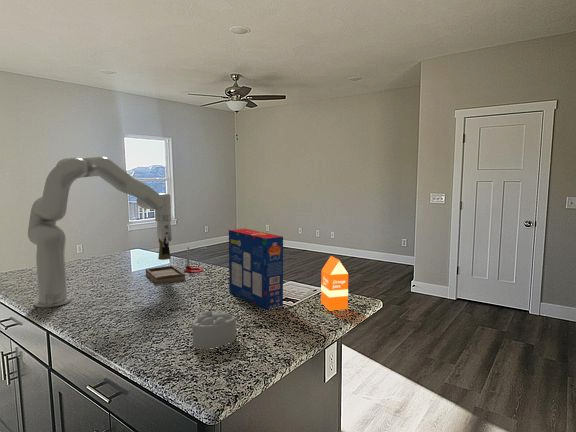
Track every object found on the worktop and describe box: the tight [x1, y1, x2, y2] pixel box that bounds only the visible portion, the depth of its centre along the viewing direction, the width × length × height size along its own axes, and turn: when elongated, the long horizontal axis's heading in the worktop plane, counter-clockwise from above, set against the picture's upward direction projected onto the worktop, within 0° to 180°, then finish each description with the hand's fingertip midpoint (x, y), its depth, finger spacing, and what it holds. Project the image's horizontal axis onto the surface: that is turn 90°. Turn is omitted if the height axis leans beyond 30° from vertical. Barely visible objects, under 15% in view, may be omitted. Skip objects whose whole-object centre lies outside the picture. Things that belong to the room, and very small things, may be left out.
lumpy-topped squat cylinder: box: [191, 309, 237, 349], centre depth 113 cm, size 10×13×9 cm
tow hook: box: [183, 247, 204, 274], centre depth 199 cm, size 8×13×9 cm
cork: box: [157, 238, 172, 261], centre depth 184 cm, size 6×6×11 cm
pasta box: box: [228, 228, 284, 311], centre depth 152 cm, size 28×8×28 cm, turn 39°
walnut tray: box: [145, 265, 186, 285], centre depth 186 cm, size 20×14×3 cm
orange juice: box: [320, 255, 349, 311], centre depth 143 cm, size 8×9×20 cm
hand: (164, 253), depth 185 cm, fingers closed on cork, 4 cm apart
